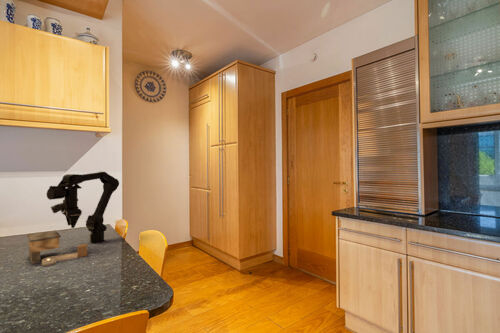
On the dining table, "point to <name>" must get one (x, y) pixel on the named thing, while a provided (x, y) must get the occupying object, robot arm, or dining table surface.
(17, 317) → the dining table surface
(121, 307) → the dining table surface
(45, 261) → the token
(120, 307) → the dining table surface
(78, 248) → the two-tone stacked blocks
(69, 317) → the dining table surface
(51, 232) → the cabinet
